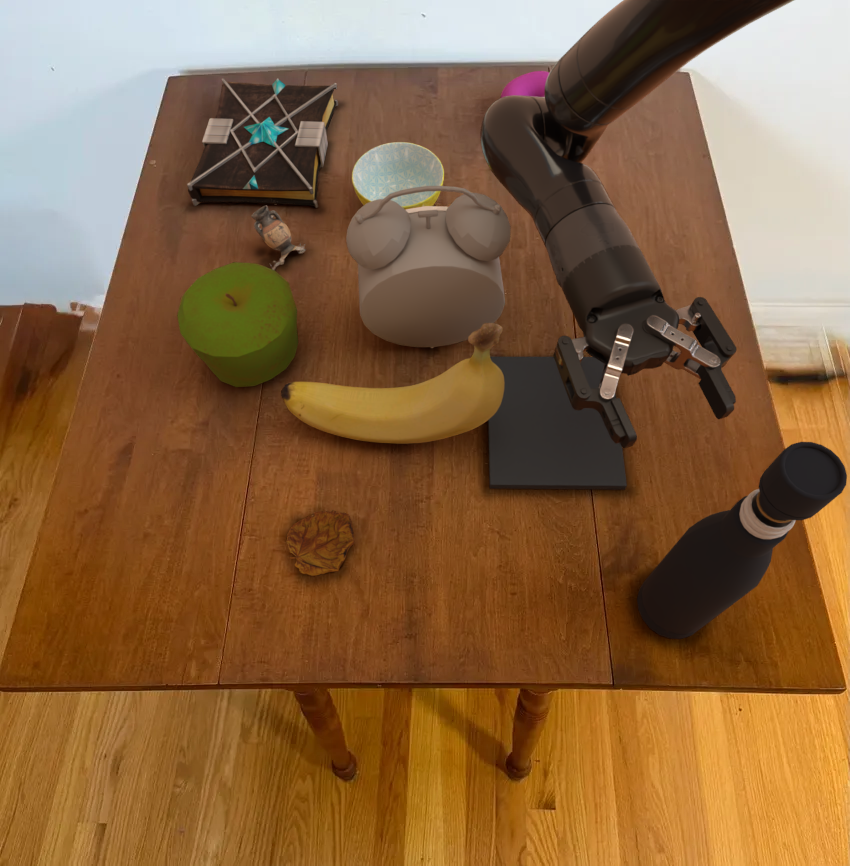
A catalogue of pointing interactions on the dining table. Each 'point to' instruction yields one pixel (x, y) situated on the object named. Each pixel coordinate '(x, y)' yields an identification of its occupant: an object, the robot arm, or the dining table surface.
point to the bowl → (398, 174)
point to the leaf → (321, 542)
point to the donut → (527, 85)
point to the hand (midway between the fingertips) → (679, 429)
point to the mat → (549, 432)
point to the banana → (407, 401)
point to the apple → (241, 322)
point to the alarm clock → (429, 267)
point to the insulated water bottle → (737, 542)
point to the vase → (274, 232)
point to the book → (264, 144)
